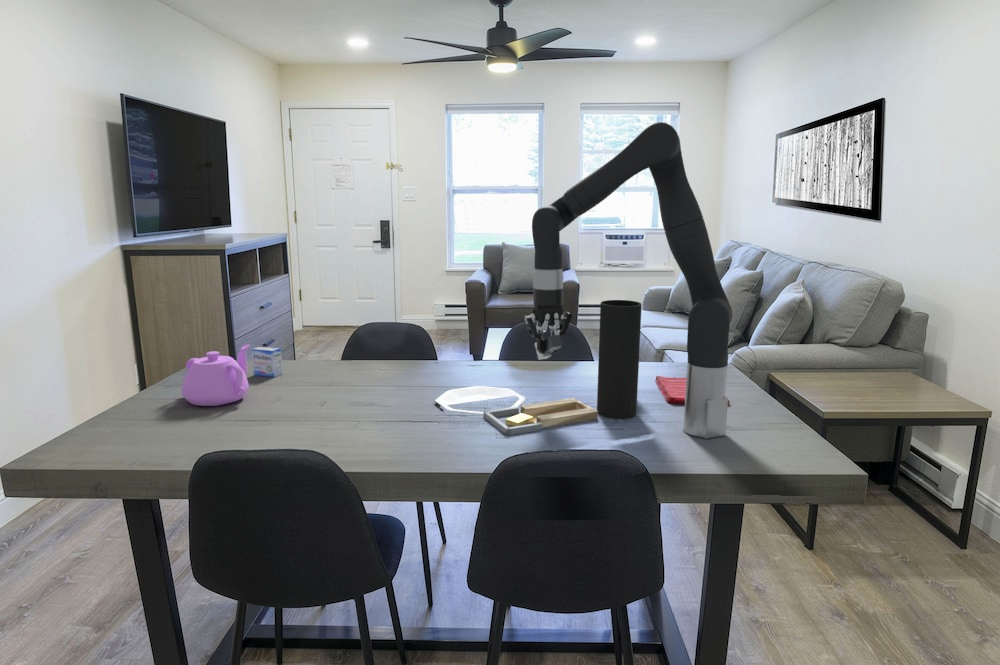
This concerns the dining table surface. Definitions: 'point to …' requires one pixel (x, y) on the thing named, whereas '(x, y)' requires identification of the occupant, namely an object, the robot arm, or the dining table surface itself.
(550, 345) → the stepped metal block
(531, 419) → the yellow block
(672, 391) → the dish towel
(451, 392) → the plate
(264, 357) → the medicine box
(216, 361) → the teapot
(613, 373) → the vase
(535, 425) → the tray
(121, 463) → the dining table surface
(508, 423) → the yellow rectangular block
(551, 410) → the slot board
